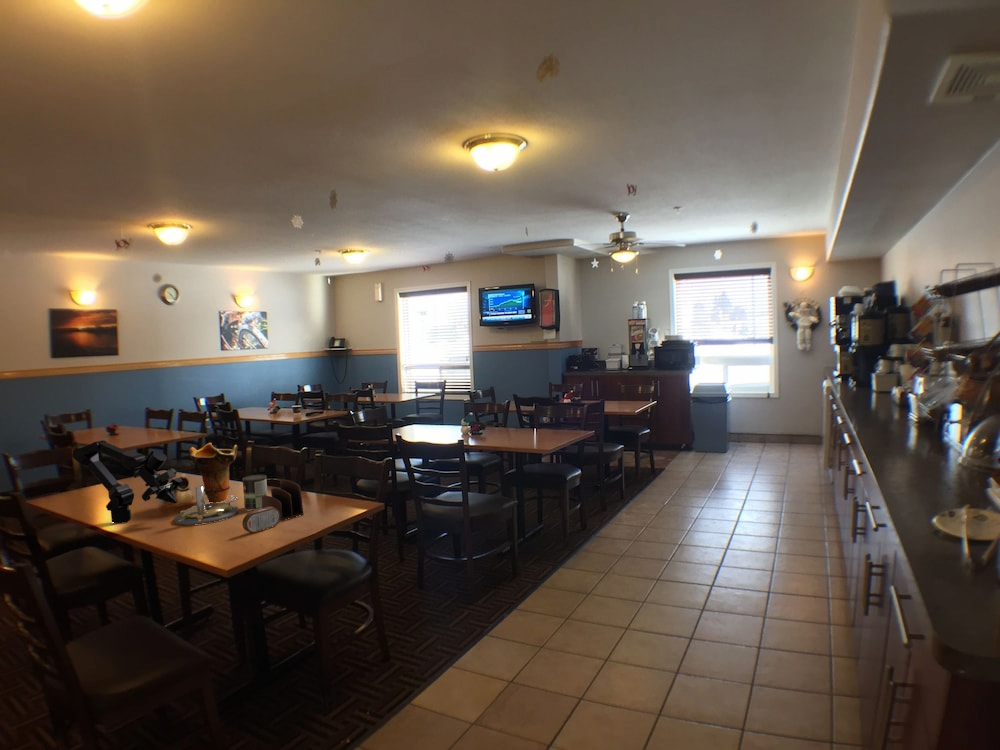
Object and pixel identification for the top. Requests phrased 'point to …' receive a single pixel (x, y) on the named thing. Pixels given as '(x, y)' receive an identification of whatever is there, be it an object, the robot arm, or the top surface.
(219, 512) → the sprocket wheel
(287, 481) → the letter holder
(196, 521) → the base plate
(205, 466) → the decorative vase
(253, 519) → the tin
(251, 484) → the coffee can
